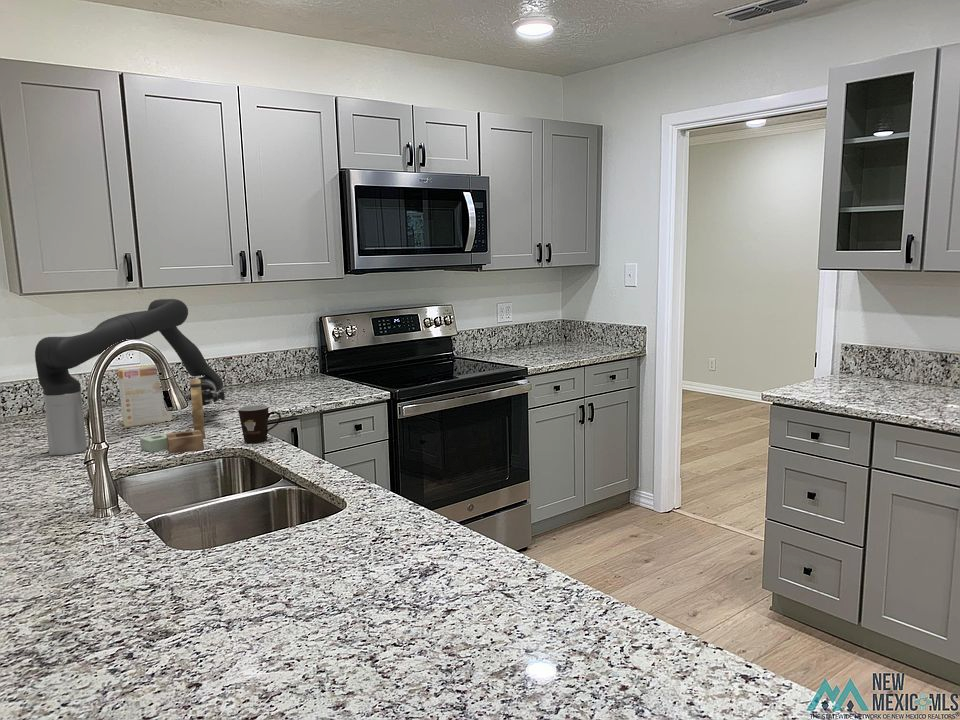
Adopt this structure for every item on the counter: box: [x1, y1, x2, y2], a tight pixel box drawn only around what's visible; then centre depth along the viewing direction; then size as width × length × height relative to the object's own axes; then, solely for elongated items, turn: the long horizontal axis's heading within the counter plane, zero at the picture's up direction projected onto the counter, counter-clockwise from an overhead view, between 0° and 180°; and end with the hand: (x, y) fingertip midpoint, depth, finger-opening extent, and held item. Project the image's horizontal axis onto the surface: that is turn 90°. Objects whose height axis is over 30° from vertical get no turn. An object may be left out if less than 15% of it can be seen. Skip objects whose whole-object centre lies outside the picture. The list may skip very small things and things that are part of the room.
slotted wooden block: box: [165, 429, 205, 455], centre depth 205 cm, size 9×9×4 cm
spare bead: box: [139, 432, 168, 453], centre depth 207 cm, size 7×7×3 cm
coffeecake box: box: [117, 364, 174, 428], centre depth 243 cm, size 15×7×20 cm, turn 123°
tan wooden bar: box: [189, 378, 206, 440], centre depth 216 cm, size 3×3×18 cm
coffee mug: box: [237, 404, 282, 445], centre depth 210 cm, size 12×9×10 cm
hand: (200, 400), depth 227 cm, fingers open, 8 cm apart
